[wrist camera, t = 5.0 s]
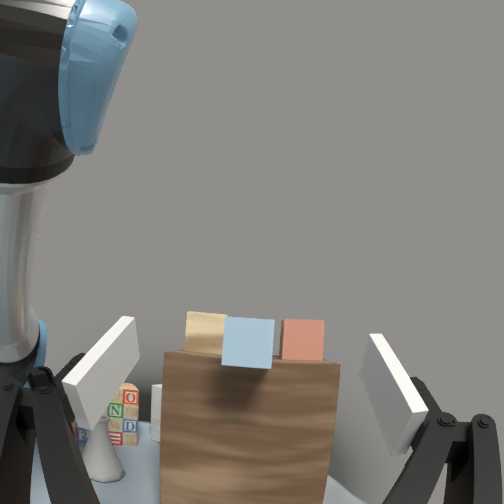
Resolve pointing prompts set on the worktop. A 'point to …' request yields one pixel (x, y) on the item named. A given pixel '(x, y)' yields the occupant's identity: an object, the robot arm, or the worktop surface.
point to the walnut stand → (245, 430)
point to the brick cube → (301, 339)
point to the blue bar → (248, 342)
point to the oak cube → (204, 332)
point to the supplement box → (156, 412)
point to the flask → (101, 454)
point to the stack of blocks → (118, 418)
